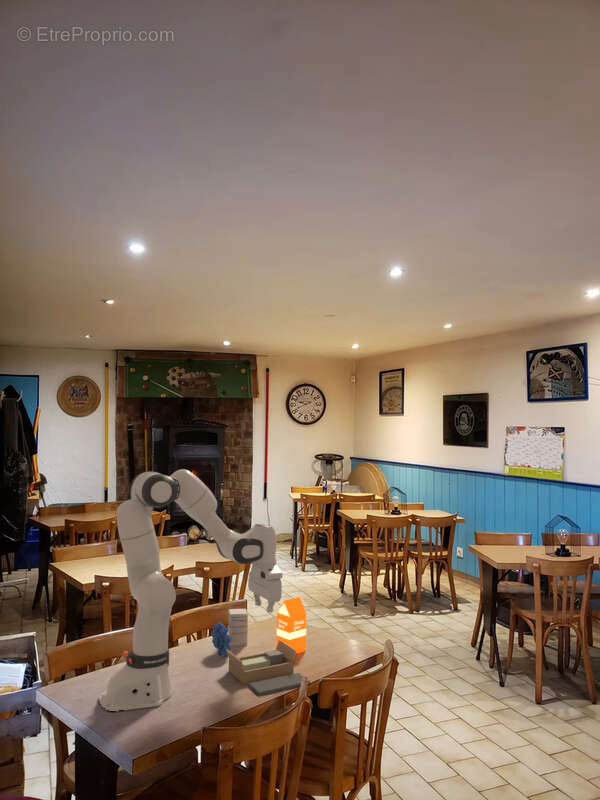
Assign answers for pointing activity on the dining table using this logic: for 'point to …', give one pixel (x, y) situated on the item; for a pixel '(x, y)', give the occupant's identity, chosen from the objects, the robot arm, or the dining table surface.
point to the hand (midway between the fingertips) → (263, 608)
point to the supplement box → (238, 627)
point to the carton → (265, 672)
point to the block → (264, 660)
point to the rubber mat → (277, 684)
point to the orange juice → (292, 624)
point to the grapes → (221, 639)
